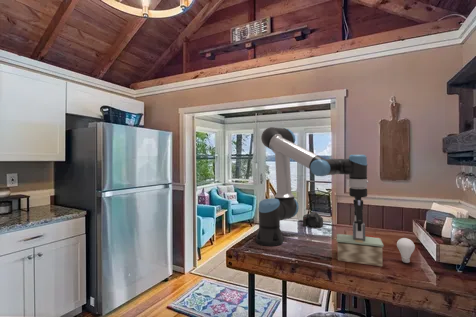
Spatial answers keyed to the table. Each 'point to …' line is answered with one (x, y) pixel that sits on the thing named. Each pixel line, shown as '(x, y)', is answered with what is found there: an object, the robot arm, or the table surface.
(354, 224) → the block
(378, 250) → the box
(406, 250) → the light bulb
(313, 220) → the camera
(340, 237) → the lid
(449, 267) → the table surface
